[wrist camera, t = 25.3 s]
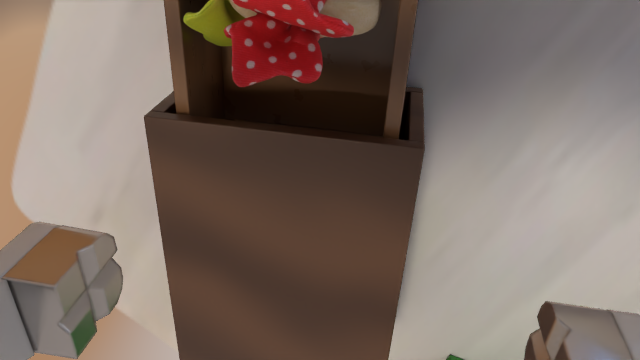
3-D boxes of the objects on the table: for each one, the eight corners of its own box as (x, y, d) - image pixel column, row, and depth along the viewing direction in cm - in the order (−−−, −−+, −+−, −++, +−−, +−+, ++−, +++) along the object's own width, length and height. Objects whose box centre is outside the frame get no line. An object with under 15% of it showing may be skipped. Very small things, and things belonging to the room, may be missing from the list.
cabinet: (202, 65, 33) (143, 116, 26) (423, 87, 32) (424, 148, 24) (219, 284, 43) (180, 364, 36) (387, 310, 42) (381, 400, 34)
